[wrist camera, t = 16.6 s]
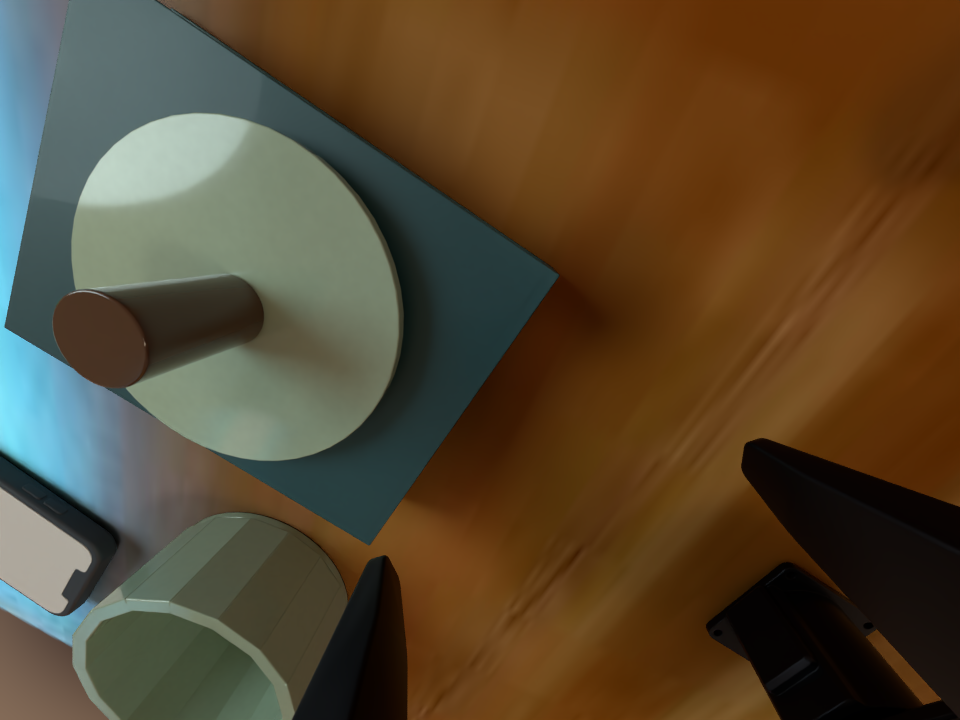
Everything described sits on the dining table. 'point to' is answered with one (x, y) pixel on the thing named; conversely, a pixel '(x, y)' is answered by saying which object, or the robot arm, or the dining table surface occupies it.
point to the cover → (231, 288)
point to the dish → (213, 626)
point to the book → (372, 175)
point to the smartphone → (48, 544)
